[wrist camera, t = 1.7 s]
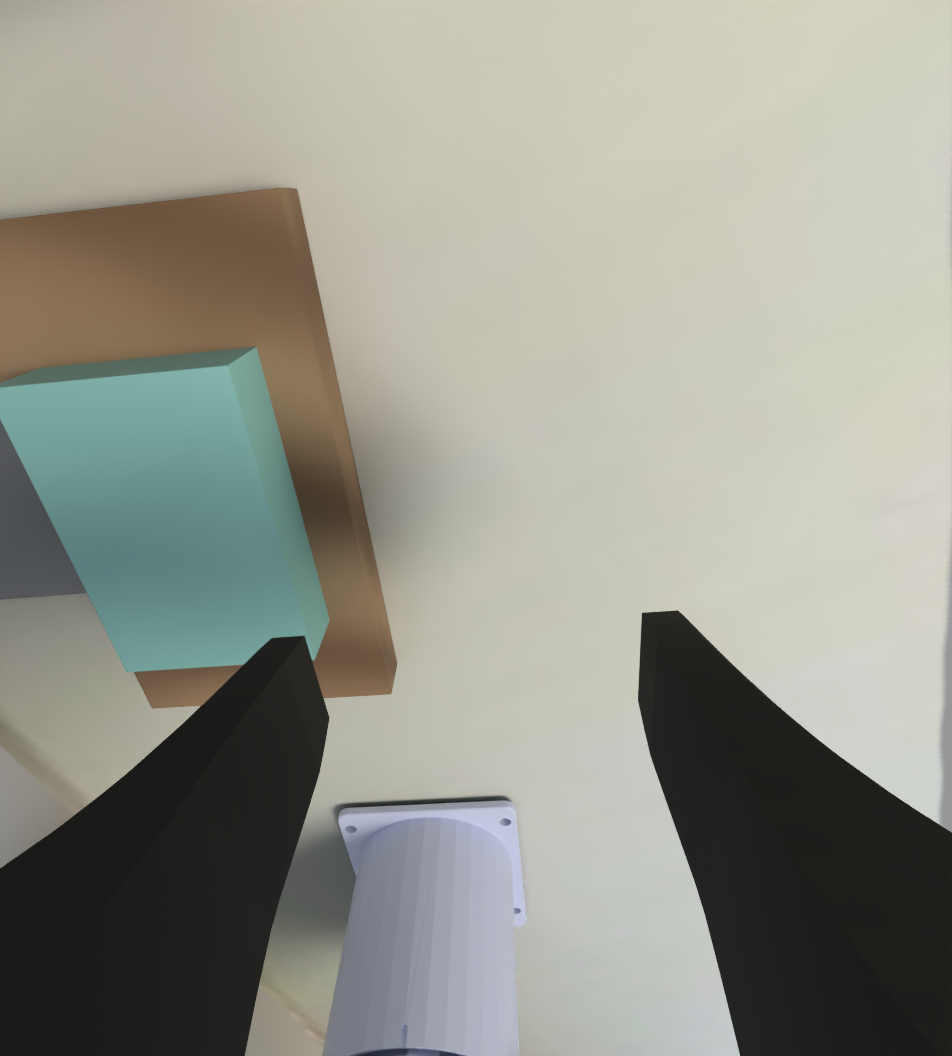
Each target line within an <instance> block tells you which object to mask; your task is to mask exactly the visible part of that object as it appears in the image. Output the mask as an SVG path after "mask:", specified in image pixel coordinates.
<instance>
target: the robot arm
mask: <svg viewBox="0 0 952 1056" xmlns="http://www.w3.org/2000/svg"><path fill="white" fill-rule="evenodd" d="M638 702H639V707H640V711H641V716H642V720H643V725H644V730H645V734H646V738H647V742H648V747H649V751H650V755H651V758H652V761H653V764H654V767H655V770H656V773H657V776H658V778H659V781H660V784H661V787H662V790H663V793H664V796H665V799H666V801H667V804H668V807H669V810H670V813H671V816H672V818H673V821H674V824H675V827H676V830H677V833H678V835H679V838H680V841H681V844H682V847H683V850H684V852H685V855H686V858H687V861H688V864H689V867H690V869H691V872H692V875H693V878H694V881H695V884H696V887H697V890H698V893H699V897H700V900H701V903H702V906H703V909H704V913H705V916H706V920H707V924H708V928H709V932H710V936H711V940H712V943H713V947H714V951H715V955H716V959H717V963H718V967H719V971H720V975H721V979H722V983H723V987H724V991H725V995H726V999H727V1003H728V1007H729V1011H730V1015H731V1020H732V1024H733V1028H734V1032H735V1036H736V1040H737V1044H738V1048H739V1052H740V1056H952V833H951V832H950V831H948V830H947V829H945V828H944V827H942V826H940V825H939V824H937V823H936V822H934V821H933V820H931V819H929V818H928V817H926V816H925V815H923V814H921V813H920V812H918V811H917V810H915V809H914V808H912V807H911V806H909V805H908V804H906V803H905V802H903V801H902V800H900V799H899V798H897V797H896V796H894V795H893V794H891V793H890V792H888V791H887V790H885V789H884V788H883V787H881V786H880V785H878V784H877V783H876V782H874V781H873V780H872V779H870V778H869V777H867V776H866V775H865V774H863V773H862V772H860V771H859V770H858V769H856V768H855V767H853V766H852V765H851V764H849V763H848V762H847V761H845V760H844V759H842V758H841V757H840V756H838V755H837V754H836V753H834V752H833V751H832V750H830V749H829V748H828V747H827V746H825V745H824V744H823V743H821V742H820V741H819V740H818V739H816V738H815V737H814V736H813V735H812V734H810V733H809V732H808V731H807V730H806V729H804V728H803V727H802V726H801V725H800V724H798V723H797V722H796V721H795V720H793V719H792V718H791V717H790V716H789V715H788V714H786V713H785V712H784V711H783V710H782V709H781V708H780V707H778V706H777V705H776V704H775V703H774V702H773V701H771V700H770V699H769V698H768V697H767V696H766V695H765V694H764V693H763V692H762V691H761V690H759V689H758V688H757V687H756V686H755V685H754V684H753V683H752V682H751V681H750V680H748V679H747V678H746V677H745V676H744V675H743V674H742V673H741V672H740V671H739V670H738V669H737V668H736V667H735V666H734V665H733V664H731V663H730V662H729V661H728V660H727V659H726V658H725V657H724V656H723V655H722V654H721V653H720V652H719V651H718V650H717V649H716V648H715V647H714V646H713V645H712V644H711V643H710V642H709V641H708V640H707V639H706V638H705V637H704V636H703V635H702V634H701V633H700V632H699V631H698V630H697V629H696V628H695V627H694V626H693V625H692V624H691V623H690V622H689V621H688V620H687V619H686V618H685V617H684V616H683V615H682V614H681V613H680V612H679V611H665V612H650V613H642V625H641V647H640V669H639V691H638ZM328 723H329V715H328V712H327V709H326V705H325V702H324V699H323V695H322V692H321V689H320V685H319V682H318V679H317V675H316V672H315V669H314V665H313V662H312V659H311V655H310V652H309V649H308V645H307V642H306V639H305V636H292V637H277V638H271V639H270V640H269V641H268V642H267V643H265V644H264V645H263V646H262V647H261V648H260V649H259V650H258V651H257V652H256V653H255V654H254V655H253V656H252V657H251V658H250V659H249V660H248V661H247V662H246V663H245V664H244V665H243V666H242V667H241V668H240V669H239V670H238V671H237V672H236V673H235V674H234V675H233V676H232V677H231V678H230V679H229V680H228V681H227V682H226V683H225V684H224V685H223V686H222V687H221V688H219V689H218V690H217V691H216V692H215V693H214V694H213V695H212V696H211V697H210V698H209V699H208V700H207V701H206V702H205V703H204V704H203V705H202V706H201V707H200V708H199V709H198V710H197V711H196V712H195V713H194V714H193V715H192V716H191V717H189V718H188V719H187V720H186V721H185V722H184V723H183V724H182V725H181V726H180V727H179V728H178V729H176V730H175V731H174V732H173V733H172V734H171V735H170V736H169V737H168V738H166V739H165V740H164V741H163V742H162V743H161V744H160V745H159V746H157V747H156V748H155V749H154V750H153V751H152V752H151V753H150V754H148V755H147V756H146V757H145V758H144V759H143V760H142V761H141V762H140V763H138V764H137V765H136V766H135V767H134V768H133V769H132V770H131V771H129V772H128V773H127V774H126V775H125V776H123V777H122V778H121V779H120V780H119V781H117V782H116V783H115V784H114V785H112V786H111V787H110V788H109V789H108V790H106V791H105V792H104V793H103V794H101V795H100V796H99V797H98V798H96V799H95V800H94V801H92V802H91V803H90V804H89V805H87V806H86V807H85V808H83V809H82V810H81V811H80V812H78V813H77V814H76V815H74V816H73V817H72V818H71V819H69V820H68V821H67V822H65V823H64V824H63V825H61V826H60V827H59V828H57V829H56V830H55V831H53V832H52V833H51V834H49V835H48V836H46V837H45V838H43V839H42V840H41V841H39V842H38V843H36V844H35V845H33V846H32V847H30V848H29V849H28V850H26V851H25V852H23V853H22V854H20V855H19V856H18V857H16V858H15V859H13V860H12V861H10V862H9V863H7V864H6V865H5V866H3V867H2V868H0V1056H245V1051H246V1046H247V1041H248V1036H249V1031H250V1026H251V1021H252V1016H253V1011H254V1006H255V1001H256V996H257V991H258V987H259V982H260V978H261V973H262V969H263V964H264V960H265V955H266V950H267V946H268V941H269V937H270V932H271V928H272V925H273V921H274V917H275V914H276V910H277V907H278V903H279V899H280V896H281V893H282V890H283V887H284V884H285V881H286V877H287V874H288V871H289V868H290V865H291V862H292V859H293V855H294V852H295V849H296V846H297V843H298V840H299V837H300V833H301V830H302V827H303V824H304V821H305V818H306V815H307V811H308V808H309V805H310V802H311V798H312V795H313V792H314V789H315V786H316V782H317V779H318V775H319V772H320V767H321V762H322V757H323V752H324V747H325V741H326V735H327V729H328ZM338 824H339V827H340V830H341V833H342V836H343V839H344V842H345V845H346V848H347V851H348V854H349V857H350V860H351V863H352V866H353V869H354V872H355V875H356V882H355V887H354V892H353V897H352V903H351V908H350V913H349V918H348V923H347V929H346V934H345V939H344V944H343V949H342V955H341V960H340V965H339V970H338V975H337V980H336V986H335V991H334V996H333V1001H332V1006H331V1012H330V1017H329V1022H328V1027H327V1032H326V1038H325V1043H324V1048H323V1053H322V1056H519V1040H518V1012H517V985H516V957H515V930H514V927H520V926H523V925H524V924H525V923H526V921H527V918H526V906H525V896H524V887H523V877H522V867H521V857H520V847H519V837H518V827H517V817H516V807H515V805H514V804H513V803H512V802H510V801H505V800H501V801H481V802H460V803H439V804H419V805H398V806H378V807H357V808H345V809H343V810H341V811H340V813H339V817H338Z"/></svg>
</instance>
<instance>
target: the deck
mask: <svg viewBox="0 0 952 1056" xmlns="http://www.w3.org/2000/svg"><path fill="white" fill-rule="evenodd" d="M249 347H257V351H258V355H259V358H260V362H261V366H262V369H263V373H264V377H265V381H266V384H267V388H268V392H269V395H270V399H271V403H272V407H273V410H274V414H275V418H276V421H277V425H278V429H279V433H280V436H281V440H282V444H283V448H284V451H285V455H286V459H287V462H288V466H289V470H290V474H291V477H292V481H293V485H294V488H295V492H296V496H297V500H298V503H299V507H300V511H301V514H302V518H303V522H304V526H305V529H306V533H307V537H308V540H309V544H310V548H311V552H312V555H313V559H314V563H315V566H316V570H317V574H318V578H319V581H320V585H321V589H322V593H323V596H324V600H325V604H326V607H327V611H328V615H329V619H330V621H329V623H328V626H327V629H326V631H325V634H324V637H323V639H322V642H321V645H320V647H319V650H318V653H317V655H316V658H315V660H312V662H313V665H314V669H315V672H316V675H317V679H318V682H319V685H320V689H321V692H322V695H323V698H334V697H351V696H367V695H384V694H391V692H392V687H393V682H394V677H395V672H396V667H397V661H396V657H395V652H394V647H393V642H392V638H391V633H390V628H389V623H388V619H387V614H386V609H385V604H384V600H383V595H382V590H381V585H380V581H379V576H378V571H377V566H376V562H375V557H374V552H373V547H372V543H371V538H370V533H369V528H368V524H367V519H366V514H365V509H364V505H363V500H362V495H361V490H360V486H359V481H358V476H357V471H356V467H355V462H354V457H353V452H352V448H351V443H350V438H349V433H348V429H347V424H346V419H345V414H344V410H343V405H342V400H341V395H340V391H339V386H338V381H337V376H336V372H335V367H334V362H333V357H332V353H331V348H330V343H329V338H328V334H327V329H326V324H325V319H324V315H323V310H322V305H321V300H320V296H319V291H318V286H317V281H316V277H315V272H314V267H313V262H312V258H311V253H310V248H309V243H308V239H307V234H306V229H305V224H304V220H303V215H302V210H301V205H300V201H299V196H298V191H297V189H290V188H274V189H265V190H257V191H248V192H239V193H231V194H222V195H213V196H204V197H196V198H187V199H178V200H170V201H161V202H152V203H143V204H135V205H126V206H117V207H109V208H100V209H91V210H82V211H74V212H65V213H56V214H48V215H39V216H30V217H21V218H13V219H4V220H0V383H2V382H5V381H7V380H10V379H12V378H15V377H18V376H20V375H23V374H25V373H28V372H31V371H33V370H36V369H38V368H45V367H55V366H65V365H75V364H86V363H96V362H106V361H116V360H126V359H137V358H147V357H157V356H167V355H177V354H188V353H198V352H208V351H218V350H228V349H238V348H249ZM242 666H243V665H231V666H216V667H200V668H185V669H169V670H153V671H138V672H134V673H135V675H136V677H137V679H138V681H139V683H140V685H141V687H142V689H143V691H144V693H145V695H146V697H147V699H148V701H149V703H150V705H151V707H152V708H168V707H185V706H201V705H203V704H204V703H205V702H206V701H207V700H208V699H209V698H210V697H211V696H212V695H213V694H214V693H215V692H216V691H217V690H218V689H219V688H221V687H222V686H223V685H224V684H225V683H226V682H227V681H228V680H229V679H230V678H231V677H232V676H233V675H234V674H235V673H236V672H237V671H238V670H239V669H240V668H241V667H242Z"/></svg>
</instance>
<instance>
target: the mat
mask: <svg viewBox="0 0 952 1056" xmlns="http://www.w3.org/2000/svg"><path fill="white" fill-rule="evenodd" d="M79 593H87V592H86V590H85V588H84V586H83V584H82V582H81V580H80V578H79V576H78V574H77V572H76V570H75V568H74V566H73V564H72V562H71V560H70V558H69V556H68V554H67V552H66V550H65V548H64V546H63V544H62V542H61V540H60V538H59V536H58V534H57V532H56V530H55V528H54V526H53V524H52V522H51V520H50V518H49V516H48V514H47V512H46V510H45V508H44V506H43V504H42V502H41V500H40V498H39V496H38V494H37V492H36V490H35V488H34V486H33V484H32V482H31V480H30V478H29V476H28V474H27V472H26V470H25V468H24V466H23V464H22V462H21V460H20V458H19V456H18V454H17V452H16V450H15V448H14V446H13V444H12V442H11V440H10V438H9V436H8V434H7V432H6V430H5V428H4V426H3V424H2V422H1V420H0V599H11V598H25V597H38V596H52V595H66V594H79Z"/></svg>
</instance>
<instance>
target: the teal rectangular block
mask: <svg viewBox="0 0 952 1056" xmlns="http://www.w3.org/2000/svg"><path fill="white" fill-rule="evenodd" d="M0 420H1V422H2V424H3V426H4V428H5V430H6V432H7V434H8V436H9V438H10V440H11V442H12V444H13V446H14V448H15V450H16V452H17V454H18V456H19V458H20V460H21V462H22V464H23V466H24V468H25V470H26V472H27V474H28V476H29V478H30V480H31V482H32V484H33V486H34V488H35V490H36V492H37V494H38V496H39V498H40V500H41V502H42V504H43V506H44V508H45V510H46V512H47V514H48V516H49V518H50V520H51V522H52V524H53V526H54V528H55V530H56V532H57V534H58V536H59V538H60V540H61V542H62V544H63V546H64V548H65V550H66V552H67V554H68V556H69V558H70V560H71V562H72V564H73V566H74V568H75V570H76V572H77V574H78V576H79V578H80V580H81V582H82V584H83V586H84V588H85V590H86V592H87V594H88V596H89V598H90V600H91V602H92V604H93V606H94V608H95V610H96V612H97V614H98V616H99V618H100V620H101V622H102V624H103V626H104V628H105V630H106V632H107V634H108V636H109V638H110V640H111V642H112V644H113V646H114V648H115V650H116V652H117V654H118V656H119V658H120V660H121V662H122V664H123V666H124V668H125V670H126V672H138V671H153V670H169V669H185V668H200V667H216V666H231V665H244V664H245V663H246V662H247V661H248V660H249V659H250V658H251V657H252V656H253V655H254V654H255V653H256V652H257V651H258V650H259V649H260V648H261V647H262V646H263V645H264V644H265V643H267V642H268V641H269V640H270V639H271V638H277V637H292V636H305V639H306V642H307V645H308V649H309V652H310V655H311V659H312V660H315V658H316V655H317V653H318V650H319V647H320V645H321V642H322V639H323V637H324V634H325V631H326V629H327V626H328V623H329V621H330V619H329V615H328V611H327V607H326V604H325V600H324V596H323V593H322V589H321V585H320V581H319V578H318V574H317V570H316V566H315V563H314V559H313V555H312V552H311V548H310V544H309V540H308V537H307V533H306V529H305V526H304V522H303V518H302V514H301V511H300V507H299V503H298V500H297V496H296V492H295V488H294V485H293V481H292V477H291V474H290V470H289V466H288V462H287V459H286V455H285V451H284V448H283V444H282V440H281V436H280V433H279V429H278V425H277V421H276V418H275V414H274V410H273V407H272V403H271V399H270V395H269V392H268V388H267V384H266V381H265V377H264V373H263V369H262V366H261V362H260V358H259V355H258V351H257V347H249V348H238V349H228V350H218V351H208V352H198V353H188V354H177V355H167V356H157V357H147V358H137V359H126V360H116V361H106V362H96V363H86V364H75V365H65V366H55V367H45V368H38V369H36V370H33V371H31V372H28V373H25V374H23V375H20V376H18V377H15V378H12V379H10V380H7V381H5V382H2V383H0Z"/></svg>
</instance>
